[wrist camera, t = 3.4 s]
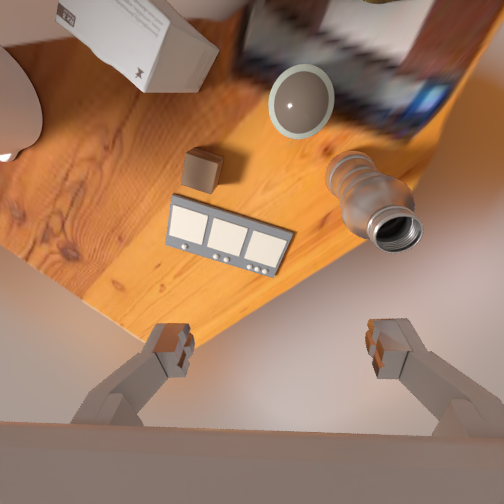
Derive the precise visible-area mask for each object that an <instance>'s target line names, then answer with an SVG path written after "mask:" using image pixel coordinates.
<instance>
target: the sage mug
mask: <svg viewBox="0 0 504 504" xmlns="http://www.w3.org/2000/svg"><path fill="white" fill-rule="evenodd" d="M333 107H334V89H333V85H332V83H331V81H330V79H329V77H328V76H327V74H326V73H325V72H324V71H323V70H321V69H320V68H318V67H316V66H314V65H310V64H300V65H295V66H293V67H291V68H289V69H287V70H286V71H284V72H283V73H282V74H281V75H280V76H279V77H278V79H277V80H276V82H275V83H274V85H273V87H272V90H271V92H270V96H269V114H270V118H271V121H272V123H273V125H274V126H275V128H276V129H277V130H278V131H279V132H280V133H281V134H283V135H284V136H286V137H289V138H292V139H305V138H308V137H311V136H313V135H314V134H316V133H317V132H319V131H320V130H321V129H322V128H323V127H324V126H325V124H326V123H327V122H328V120H329V118H330V116H331V114H332V111H333Z"/></svg>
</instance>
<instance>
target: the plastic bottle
mask: <svg viewBox="0 0 504 504" xmlns="http://www.w3.org/2000/svg"><path fill="white" fill-rule="evenodd" d="M325 182H326V186H327V188H328V189H329V191H330V192H331V193H332V194H333V195H334V196H336V197H337V198H338V199H339V201H340V206H341V215H342V219H343V222H344V224H345V226H346V227H347V228H348V229H349V230H350V231H351V232H352V233H354V234H356V235H357V236H359V237H361V238H364V239H369V240H371V241H372V242H374V244H375V245H376V246H377V247H378V248H379V249H380V250H382V251H384V252H386V253H401V252H405V251H407V250H409V249H411V248H413V247H414V246H415V245H416V244H417V243H418V242H419V241H420V239H421V238H422V236H423V230H424V229H423V225H422V223H421V221H420V220H419V219H418V218H417V217H416V215H415V214H414V209H415V208H414V207H415V203H414V198H413V194H412V192H411V190H410V188H409V187H408V186H407V185H406V184H405V183H403V182H402V181H400V180H398V179H397V178H394V177H391V176H388V175H385V174H383V173H381V172H380V171H378V169H377V167H376V165H375V163H374V161H373V160H372V158H371V157H370V156H368V155H367V154H365V153H363V152H359V151H346V152H343V153H340V154H339V155H337V156H336V157H334V158H333V159H332V160H331V162H330V163H329V165H328V166H327V169H326V174H325Z"/></svg>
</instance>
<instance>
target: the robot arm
mask: <svg viewBox="0 0 504 504" xmlns="http://www.w3.org/2000/svg"><path fill="white" fill-rule="evenodd" d="M41 130H42V111H41V106H40V103H39V99H38V96H37V94H36V92H35V89H34V87H33V85H32V83H31V82H30V80H29V78H28V77H27V75H26V74H25V72H24V71H23V69H22V68H21V67H20V65H19V64H18V63H17V62H16V61H15V59H14V58H13V57H12V56H11V55H10V54H9V53H8V52H7V51H6V50H5V49H4V48H3V47H2V46H1V45H0V161H3V162H8V161H12V160H14V159H15V157H16V156H17V154H18V152H19V151H20V150H22V149H24V148H27V147H29V146H31V145H33V144H34V143H35V142H36V141H37V139H38V138H39V136H40V133H41ZM367 326H368V328H369V330H368V331H367V332H366V336H365V342H366V348H367V351H368V354H369V355H370V356H371V357H372V358H373V361H372V365H373V368H374V371H375V374H376V376H377V379H399V381H400V382H401V383H402V384H403V385H404V386H405V387H406V388H407V389H408V390H409V391H410V392H411V393H412V394H413V395H414V396H415V397H416V398H417V399H418V400H419V401H420V402H421V403H422V404H423V405H424V406H425V407H426V408H427V409H428V410H429V411H430V412H431V413H432V414H433V415H434V416H435V417H436V418H437V419H438V420H439V423H438V424H437V426H436V428H435V430H434V431H433V433H432V436H408V435H379V434H351V433H350V434H349V433H322V432H294V431H292V432H291V431H264V430H234V429H206V428H177V427H147V426H143V423H142V421H141V419H140V418H139V417H138V416H137V413H138V412H139V411H140V410H141V409H142V407H143V406H144V405H145V404H146V403H147V402H148V401H149V399H150V398H151V397H152V396H153V395H154V394H155V393H156V392H157V390H158V389H159V388H160V387H161V386H162V385H163V384H164V382H165V381H166V380H167V379H168V378H169V377H186V374H187V370H188V367H189V361H188V359H189V358H190V357H191V356H192V355H193V351H194V345H195V342H194V337H193V335H192V334H191V333H190V329H191V328H190V326H189V324H187V323H157V324H156V325H155V326H154V328H153V330H152V332H151V334H150V336H149V338H148V340H147V341H146V343H145V345H144V347H143V349H142V351H141V353H137V354H136V355H135V356H133V357H132V358H131V359H130V360H128V361H127V362H126V363H125V364H123V365H122V366H121V367H120V368H118V369H117V370H116V371H115V372H114V373H112V374H111V375H110V376H108V377H107V378H106V379H105V380H103V381H102V382H101V383H100V384H98V385H97V386H96V387H95V388H93V389H92V390H91V391H90V392H89V393H88V395H87V396H86V398H85V400H84V401H83V403H82V404H81V406H80V408H79V409H78V411H77V413H76V414H75V416H74V417H73V419H72V421H71V422H70V424H59V423H58V424H57V423H29V422H4V421H0V504H504V404H503V403H502V402H501V400H500V399H499V398H498V397H496V396H495V395H493V394H492V393H490V392H489V391H487V390H486V389H485V388H483V387H482V386H481V385H479V384H478V383H476V382H475V381H473V380H472V379H470V378H469V377H467V376H466V375H465V374H463V373H462V372H460V371H459V370H458V369H456V368H455V367H453V366H452V365H450V364H449V363H447V362H446V361H445V360H443V359H442V358H440V357H439V356H437V355H436V354H435V353H433V352H432V351H430V352H429V351H427V349H426V348H425V346H424V344H423V343H422V341H421V339H420V337H419V336H418V334H417V332H416V331H415V329H414V327H413V326H412V324H411V322H410V321H409V320H408V319H407V318H406V319H405V318H404V319H403V318H401V319H370V320H369V321H368V324H367Z"/></svg>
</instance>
